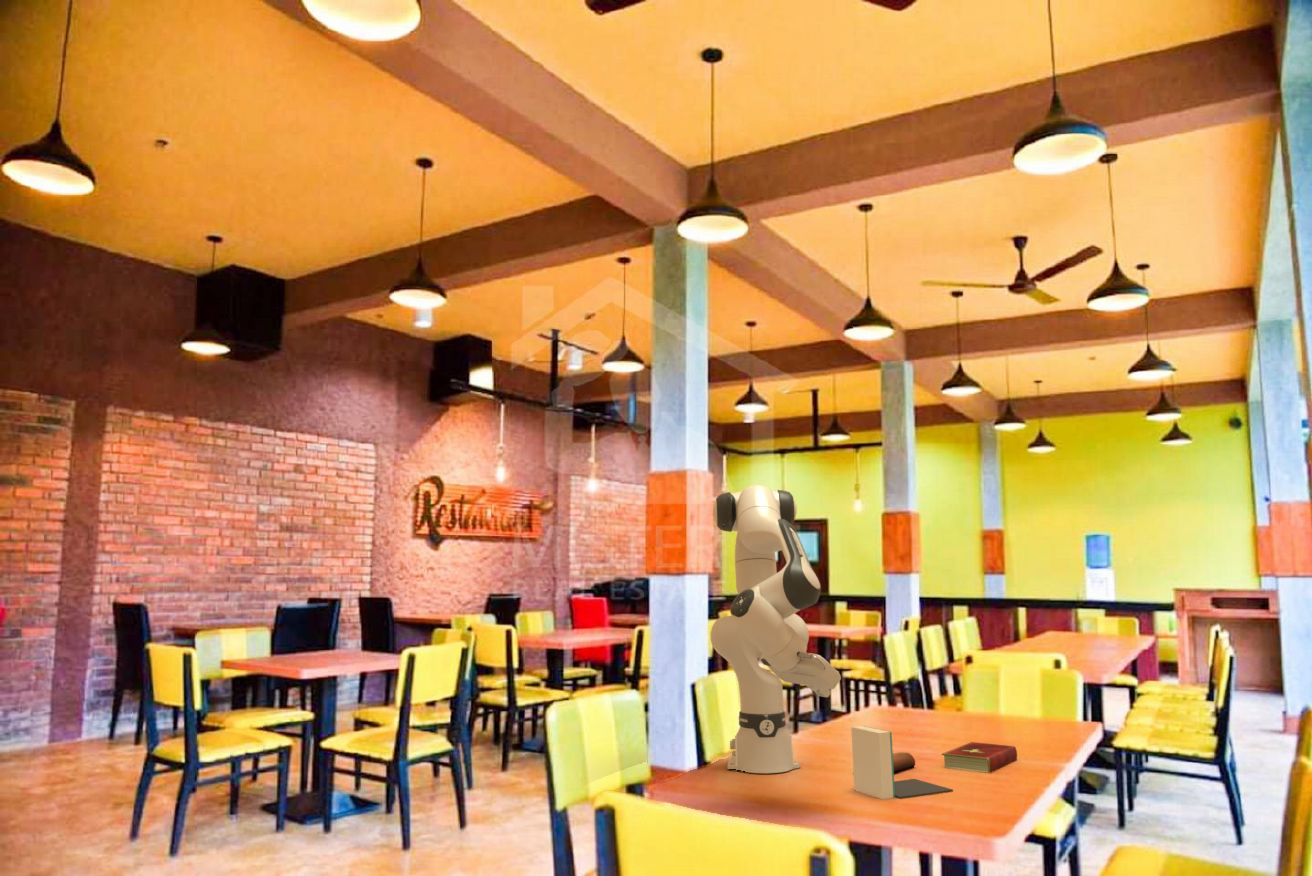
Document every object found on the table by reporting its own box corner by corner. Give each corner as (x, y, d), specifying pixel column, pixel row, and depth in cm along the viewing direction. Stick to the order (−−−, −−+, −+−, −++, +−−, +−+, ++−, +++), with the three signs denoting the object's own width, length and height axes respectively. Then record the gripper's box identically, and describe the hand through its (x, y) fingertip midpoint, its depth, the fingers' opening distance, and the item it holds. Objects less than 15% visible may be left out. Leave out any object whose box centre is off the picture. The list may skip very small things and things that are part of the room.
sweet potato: (885, 763, 237) (896, 741, 236) (907, 780, 232) (918, 758, 231) (850, 774, 224) (861, 752, 222) (873, 793, 219) (885, 770, 218)
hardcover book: (1017, 761, 239) (1016, 745, 240) (990, 775, 223) (988, 757, 224) (972, 756, 247) (971, 740, 247) (942, 769, 230) (941, 752, 231)
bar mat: (900, 798, 198) (900, 796, 198) (863, 787, 210) (863, 785, 210) (953, 791, 204) (952, 789, 204) (914, 780, 216) (914, 778, 216)
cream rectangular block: (882, 799, 198) (878, 733, 200) (854, 790, 207) (851, 727, 209) (895, 797, 199) (891, 731, 202) (866, 788, 208) (863, 725, 211)
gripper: (822, 643, 191) (862, 688, 194) (770, 639, 210) (808, 680, 212) (805, 665, 189) (845, 711, 191) (754, 659, 207) (792, 701, 209)
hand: (825, 694), depth 202 cm, fingers closed
